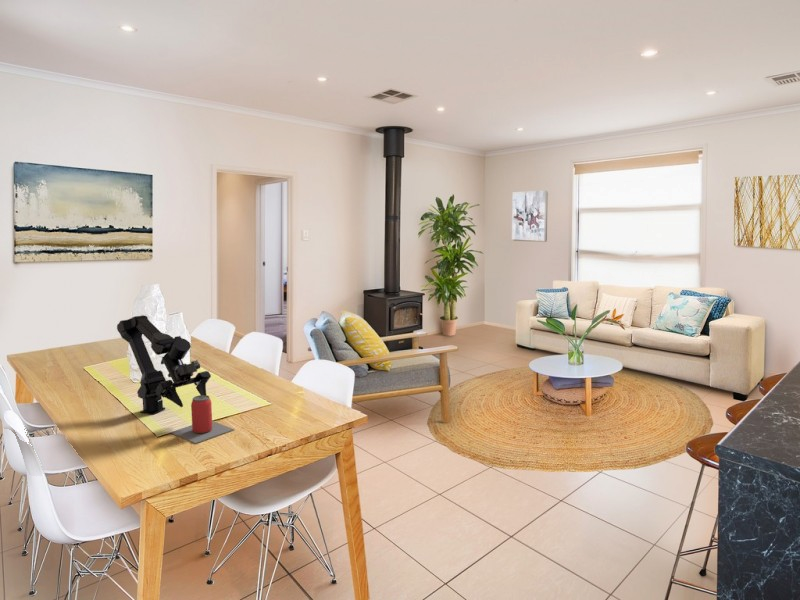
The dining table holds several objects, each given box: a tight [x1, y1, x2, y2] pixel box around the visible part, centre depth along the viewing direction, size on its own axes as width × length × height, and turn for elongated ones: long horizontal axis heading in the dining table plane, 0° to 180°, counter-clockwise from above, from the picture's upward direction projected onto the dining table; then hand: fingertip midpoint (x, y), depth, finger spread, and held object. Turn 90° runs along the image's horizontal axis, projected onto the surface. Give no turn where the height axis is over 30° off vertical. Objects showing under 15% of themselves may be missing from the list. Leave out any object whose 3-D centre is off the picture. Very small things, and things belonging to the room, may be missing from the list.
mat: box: [170, 420, 235, 445], centre depth 181 cm, size 15×15×1 cm
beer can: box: [190, 394, 213, 433], centre depth 180 cm, size 7×7×12 cm
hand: (194, 403), depth 182 cm, fingers open, 9 cm apart
